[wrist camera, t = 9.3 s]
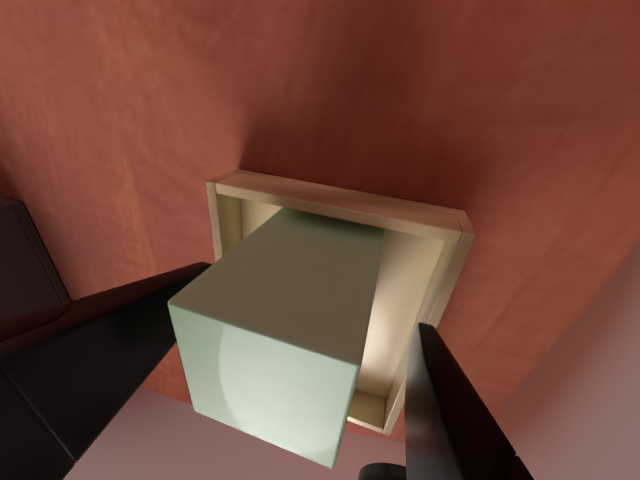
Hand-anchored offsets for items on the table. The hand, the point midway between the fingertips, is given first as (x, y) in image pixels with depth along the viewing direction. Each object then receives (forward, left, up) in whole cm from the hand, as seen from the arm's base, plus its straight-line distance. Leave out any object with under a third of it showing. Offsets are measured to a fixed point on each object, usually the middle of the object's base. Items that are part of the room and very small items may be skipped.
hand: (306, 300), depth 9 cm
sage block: (0, 0, -3) cm, 3 cm away
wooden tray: (-2, +2, -3) cm, 4 cm away
